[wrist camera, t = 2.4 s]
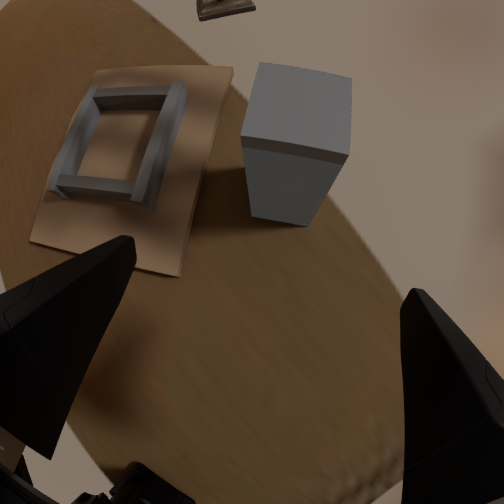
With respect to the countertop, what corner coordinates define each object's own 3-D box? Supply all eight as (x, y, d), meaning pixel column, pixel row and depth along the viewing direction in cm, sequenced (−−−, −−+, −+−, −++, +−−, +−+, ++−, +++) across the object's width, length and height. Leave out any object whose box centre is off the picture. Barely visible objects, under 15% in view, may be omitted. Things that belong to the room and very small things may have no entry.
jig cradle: (180, 277, 23) (165, 273, 19) (35, 242, 24) (12, 235, 20) (233, 73, 26) (230, 49, 22) (100, 75, 27) (88, 57, 23)
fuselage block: (307, 226, 23) (349, 154, 11) (251, 216, 23) (240, 135, 11) (314, 175, 24) (351, 78, 12) (261, 165, 24) (259, 62, 12)
